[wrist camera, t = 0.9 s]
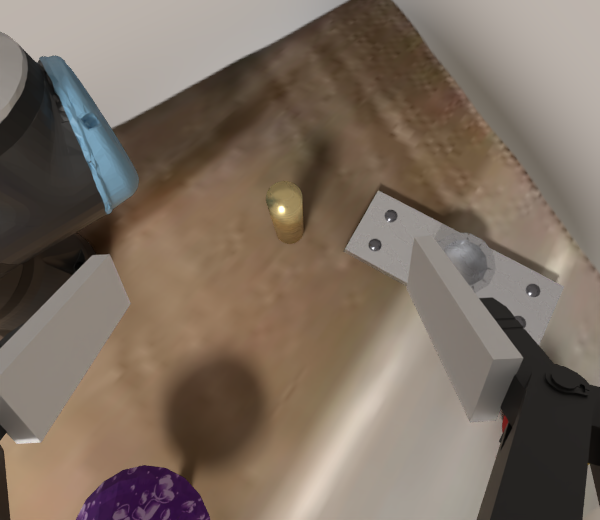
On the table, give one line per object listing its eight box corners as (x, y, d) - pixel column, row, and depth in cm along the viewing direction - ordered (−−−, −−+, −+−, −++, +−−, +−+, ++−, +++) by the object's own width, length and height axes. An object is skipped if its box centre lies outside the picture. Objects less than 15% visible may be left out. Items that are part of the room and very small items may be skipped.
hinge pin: (271, 235, 44) (259, 204, 33) (285, 212, 44) (277, 175, 33) (294, 248, 43) (290, 221, 32) (308, 225, 44) (308, 191, 33)
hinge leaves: (343, 251, 43) (347, 242, 38) (376, 195, 44) (383, 180, 40) (527, 352, 40) (554, 355, 35) (555, 288, 41) (584, 282, 37)
